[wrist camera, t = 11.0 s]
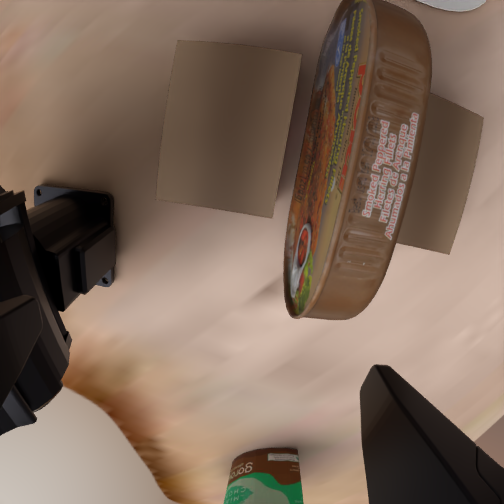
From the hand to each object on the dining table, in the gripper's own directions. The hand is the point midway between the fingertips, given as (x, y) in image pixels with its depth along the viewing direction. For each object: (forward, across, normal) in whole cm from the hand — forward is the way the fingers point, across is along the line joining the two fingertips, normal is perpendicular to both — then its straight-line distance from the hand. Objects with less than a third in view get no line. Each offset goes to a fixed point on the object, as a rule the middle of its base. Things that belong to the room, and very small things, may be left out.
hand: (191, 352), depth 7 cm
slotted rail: (+12, -4, -5) cm, 14 cm away
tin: (+12, -4, -5) cm, 14 cm away
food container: (+12, -5, +26) cm, 29 cm away
